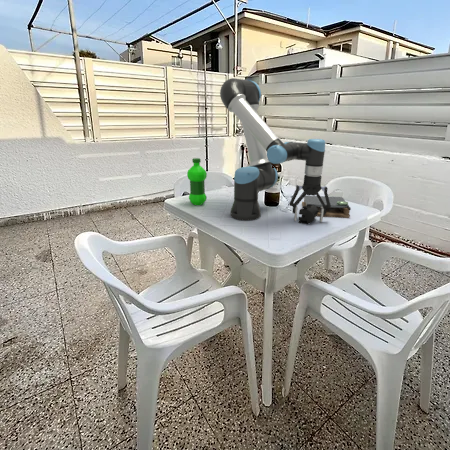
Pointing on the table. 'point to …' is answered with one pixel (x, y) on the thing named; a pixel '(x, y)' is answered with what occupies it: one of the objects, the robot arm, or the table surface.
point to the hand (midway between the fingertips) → (307, 220)
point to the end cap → (308, 214)
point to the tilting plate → (334, 201)
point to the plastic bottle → (197, 183)
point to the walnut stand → (333, 211)
